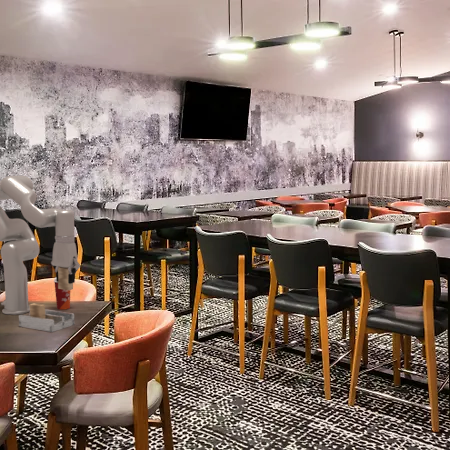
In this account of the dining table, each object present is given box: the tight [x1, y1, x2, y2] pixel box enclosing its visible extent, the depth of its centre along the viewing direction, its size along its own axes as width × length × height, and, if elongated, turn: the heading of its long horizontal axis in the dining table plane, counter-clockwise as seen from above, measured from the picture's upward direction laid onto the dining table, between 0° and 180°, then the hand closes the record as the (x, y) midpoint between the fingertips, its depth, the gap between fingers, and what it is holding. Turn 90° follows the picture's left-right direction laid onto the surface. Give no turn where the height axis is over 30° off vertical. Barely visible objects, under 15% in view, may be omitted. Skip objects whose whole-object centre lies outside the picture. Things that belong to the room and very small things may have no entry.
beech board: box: [58, 267, 74, 291], centre depth 251 cm, size 6×2×9 cm, turn 61°
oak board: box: [29, 303, 46, 319], centre depth 241 cm, size 6×2×9 cm, turn 61°
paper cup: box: [53, 277, 71, 311], centre depth 271 cm, size 8×8×14 cm
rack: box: [18, 308, 75, 333], centre depth 242 cm, size 18×12×5 cm
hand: (65, 281), depth 252 cm, fingers closed on beech board, 6 cm apart
